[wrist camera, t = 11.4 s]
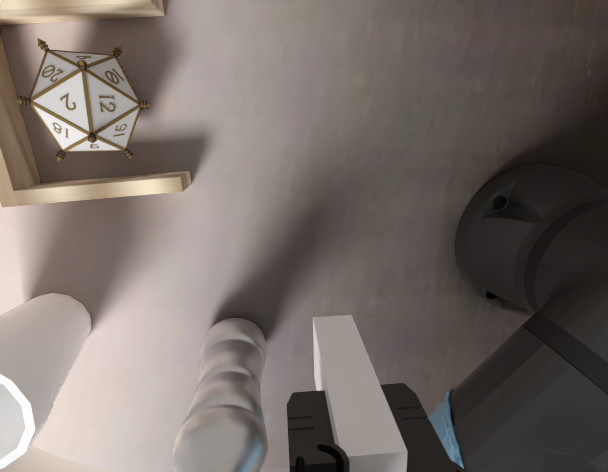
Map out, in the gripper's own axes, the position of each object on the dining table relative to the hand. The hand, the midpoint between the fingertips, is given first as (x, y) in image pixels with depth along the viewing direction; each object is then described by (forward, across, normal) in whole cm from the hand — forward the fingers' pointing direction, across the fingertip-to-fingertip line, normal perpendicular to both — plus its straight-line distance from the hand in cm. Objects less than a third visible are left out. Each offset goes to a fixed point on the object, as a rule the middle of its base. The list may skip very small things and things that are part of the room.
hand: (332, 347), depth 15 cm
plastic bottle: (+24, +7, +13) cm, 28 cm away
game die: (+23, +16, -10) cm, 30 cm away
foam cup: (+23, +24, +10) cm, 35 cm away
